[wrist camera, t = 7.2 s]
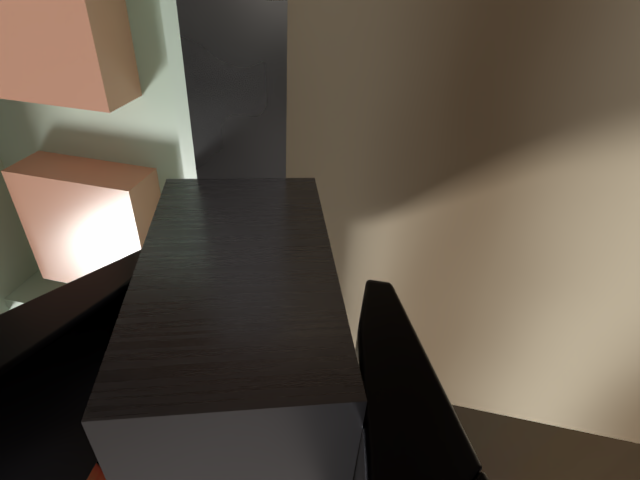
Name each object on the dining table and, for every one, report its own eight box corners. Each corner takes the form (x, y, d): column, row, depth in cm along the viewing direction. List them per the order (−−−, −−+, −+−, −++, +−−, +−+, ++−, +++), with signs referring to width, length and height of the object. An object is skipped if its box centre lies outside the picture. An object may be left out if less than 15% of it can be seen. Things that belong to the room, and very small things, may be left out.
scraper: (312, -106, 7) (475, -195, 2) (297, 356, 13) (324, 636, 8) (149, -117, 7) (-222, -267, 2) (212, 361, 13) (183, 655, 8)
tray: (221, -161, 9) (106, -214, 6) (248, 303, 17) (203, 391, 13) (-121, -171, 10) (-371, -221, 7) (46, 265, 18) (-40, 337, 15)
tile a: (-108, -100, 9) (-45, -96, 10) (-31, 94, 12) (13, 79, 13) (64, -89, 9) (110, -86, 10) (109, 112, 11) (142, 95, 12)
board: (1015, -272, 7) (1355, -393, 4) (612, 360, 15) (647, 445, 12) (241, -268, 8) (161, -353, 6) (260, 295, 16) (230, 358, 14)
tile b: (1, 170, 13) (38, 150, 14) (43, 278, 15) (72, 252, 16) (128, 191, 12) (156, 168, 13) (152, 299, 14) (174, 272, 16)
